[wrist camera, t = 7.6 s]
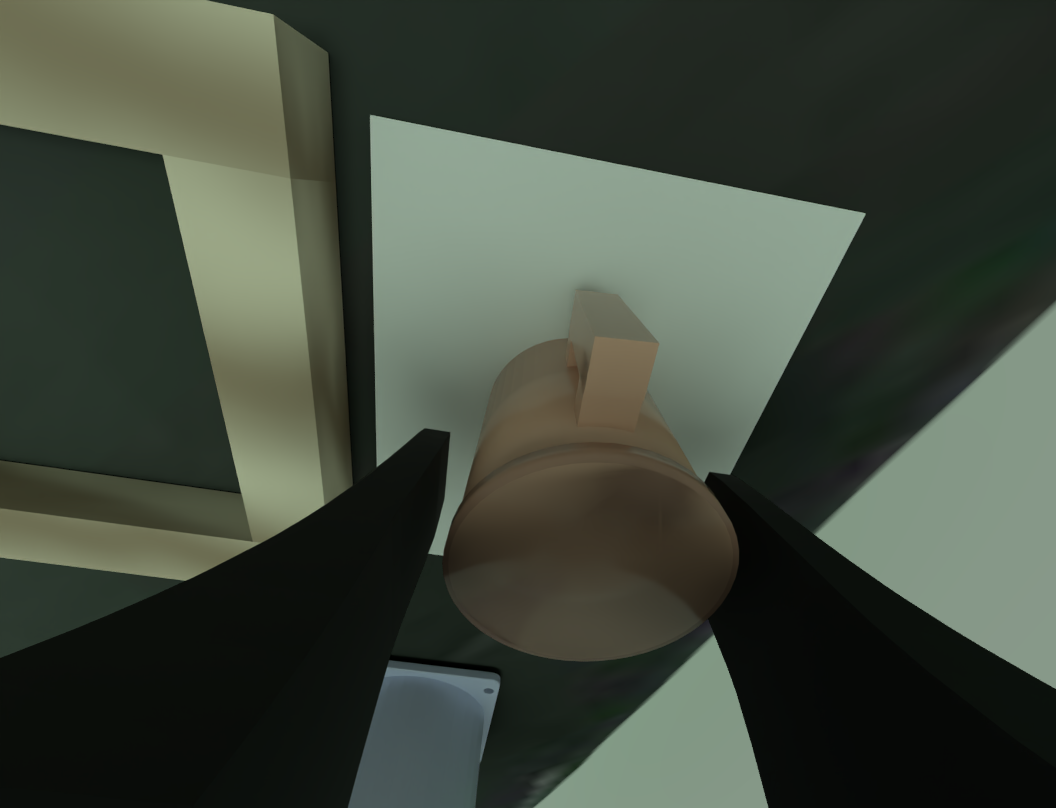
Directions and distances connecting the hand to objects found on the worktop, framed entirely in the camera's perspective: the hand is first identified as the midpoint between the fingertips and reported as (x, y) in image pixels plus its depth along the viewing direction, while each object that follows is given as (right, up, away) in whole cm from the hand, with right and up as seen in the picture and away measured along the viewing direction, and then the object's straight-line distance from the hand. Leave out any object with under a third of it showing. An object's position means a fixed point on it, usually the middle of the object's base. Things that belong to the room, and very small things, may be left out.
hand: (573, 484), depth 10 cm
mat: (0, +2, +3) cm, 3 cm away
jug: (0, +2, +3) cm, 3 cm away
